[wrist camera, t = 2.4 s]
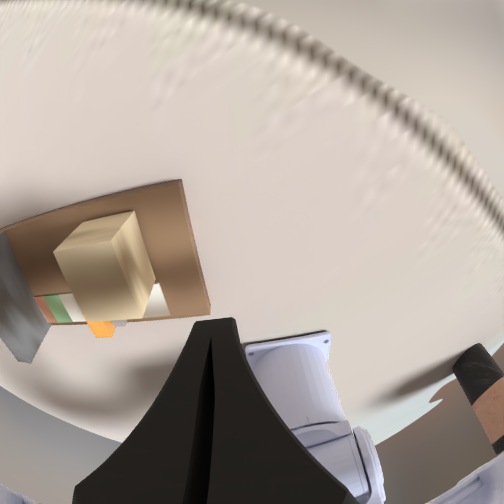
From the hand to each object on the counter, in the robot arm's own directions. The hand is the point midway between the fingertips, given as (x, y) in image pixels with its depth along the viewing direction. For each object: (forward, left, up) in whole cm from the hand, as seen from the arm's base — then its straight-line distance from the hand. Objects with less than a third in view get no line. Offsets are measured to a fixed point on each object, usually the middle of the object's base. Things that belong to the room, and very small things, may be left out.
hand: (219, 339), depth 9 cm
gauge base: (-2, +11, -10) cm, 15 cm away
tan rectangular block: (-1, +7, -8) cm, 11 cm away
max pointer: (-5, +10, -8) cm, 14 cm away
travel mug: (-30, -37, -10) cm, 48 cm away
